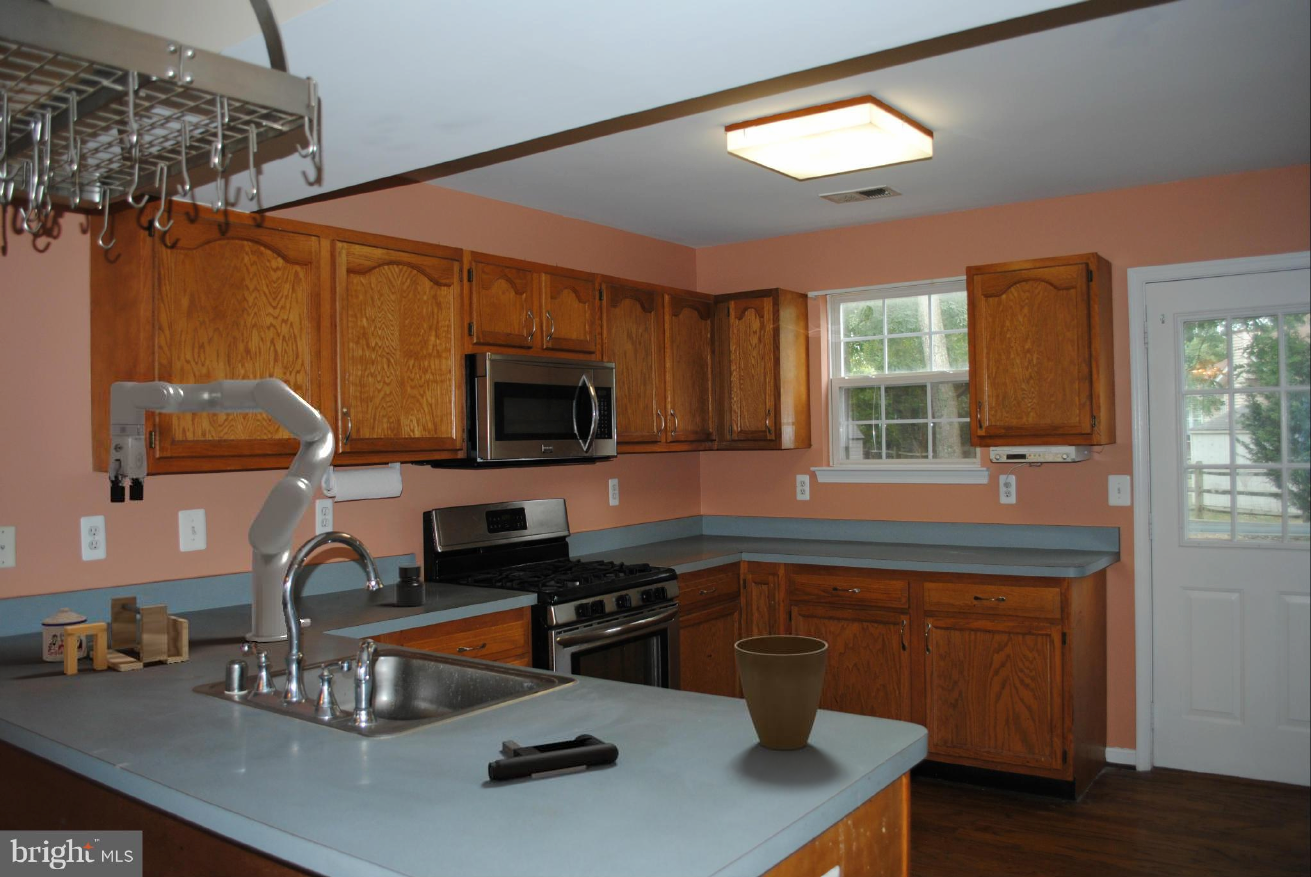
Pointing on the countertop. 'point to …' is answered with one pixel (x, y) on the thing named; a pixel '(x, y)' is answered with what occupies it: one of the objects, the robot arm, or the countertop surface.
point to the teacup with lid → (62, 635)
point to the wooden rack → (145, 634)
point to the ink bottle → (409, 587)
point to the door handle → (551, 758)
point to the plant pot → (782, 686)
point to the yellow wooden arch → (71, 645)
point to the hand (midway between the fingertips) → (127, 501)
